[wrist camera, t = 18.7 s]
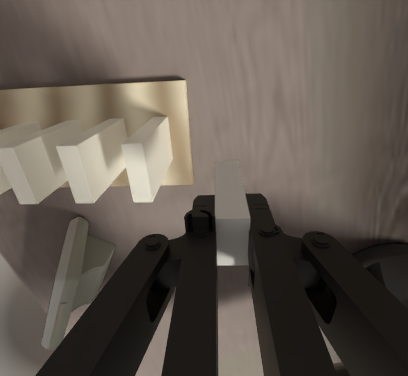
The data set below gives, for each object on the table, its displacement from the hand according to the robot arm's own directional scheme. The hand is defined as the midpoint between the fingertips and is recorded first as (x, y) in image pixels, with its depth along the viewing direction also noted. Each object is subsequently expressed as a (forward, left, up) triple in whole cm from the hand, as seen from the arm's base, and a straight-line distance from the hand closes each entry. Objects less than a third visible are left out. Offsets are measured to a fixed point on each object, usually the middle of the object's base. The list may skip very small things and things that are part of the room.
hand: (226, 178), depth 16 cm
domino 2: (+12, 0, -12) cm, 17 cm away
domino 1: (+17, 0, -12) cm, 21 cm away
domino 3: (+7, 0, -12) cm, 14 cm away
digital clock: (+22, +19, -13) cm, 32 cm away
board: (+19, 0, -13) cm, 23 cm away
